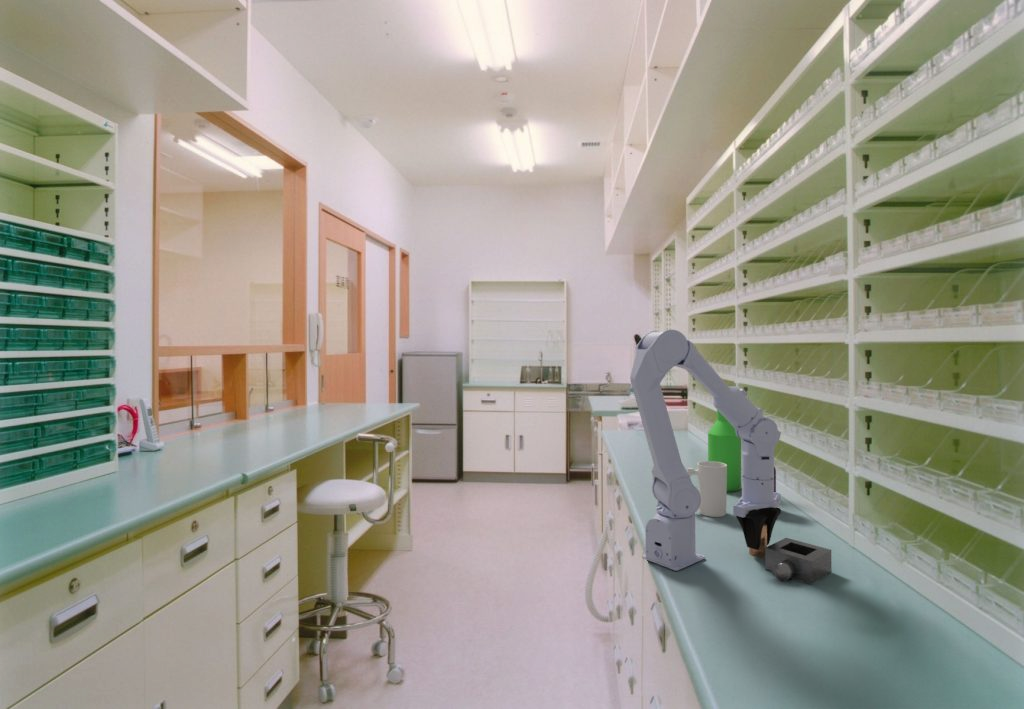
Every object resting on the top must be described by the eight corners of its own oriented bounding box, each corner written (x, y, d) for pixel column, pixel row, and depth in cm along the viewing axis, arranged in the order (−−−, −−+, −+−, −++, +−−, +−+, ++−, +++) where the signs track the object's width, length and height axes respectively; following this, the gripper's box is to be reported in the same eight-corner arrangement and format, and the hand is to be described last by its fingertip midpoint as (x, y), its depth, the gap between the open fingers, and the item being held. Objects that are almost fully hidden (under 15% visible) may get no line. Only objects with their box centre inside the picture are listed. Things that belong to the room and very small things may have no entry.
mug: (724, 509, 133) (724, 461, 133) (729, 518, 126) (729, 467, 126) (682, 507, 135) (682, 460, 135) (685, 516, 128) (685, 466, 128)
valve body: (804, 588, 90) (804, 565, 90) (758, 573, 96) (758, 551, 96) (837, 568, 98) (837, 546, 98) (792, 555, 104) (792, 534, 104)
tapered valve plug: (761, 558, 103) (761, 527, 103) (745, 553, 105) (745, 523, 105) (770, 554, 105) (770, 523, 105) (754, 549, 107) (754, 519, 107)
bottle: (701, 486, 155) (701, 400, 154) (723, 482, 158) (723, 398, 158) (725, 494, 147) (725, 403, 146) (748, 490, 150) (748, 401, 150)
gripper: (758, 487, 97) (759, 561, 97) (795, 474, 106) (796, 542, 106) (722, 479, 103) (723, 550, 103) (761, 468, 112) (761, 533, 112)
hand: (758, 545), depth 105 cm, fingers open, 3 cm apart
